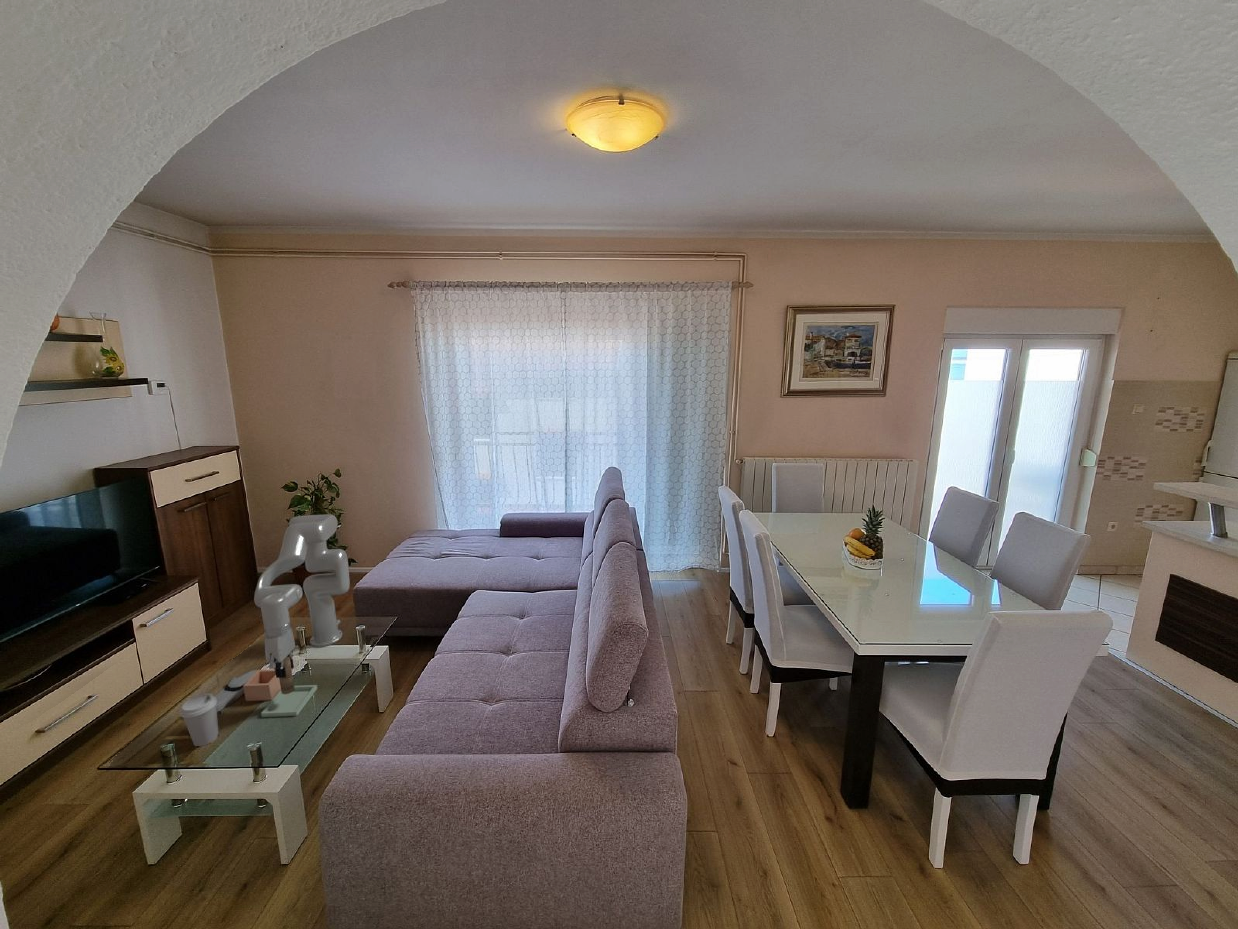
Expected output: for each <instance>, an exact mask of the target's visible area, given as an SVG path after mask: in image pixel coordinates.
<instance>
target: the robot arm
mask: <svg viewBox="0 0 1238 929" xmlns="http://www.w3.org/2000/svg"><path fill="white" fill-rule="evenodd" d="M338 522H339V521H338V519H337V517H336V516H335V515H334V514H310V515H309V514H308V515H299V516H294V517H292V518H290V520H289V525H288V526H287V528H286V530H285V533H284V535H283V539H282V544H281V548H280V551H279V556H278V558H277V559H276V560H275V561H273V562H272V563H271V564H270V565H269V566H268V567H267V568H266V569H265V570H264V571H263V572H262V573H261V575H260V577H259V578H258V581H257V584H256V587H255V591H254V596H253V598H254V599H253V600H254V603H255V605H256V607H258V608H260V610H261V611H260V612H261V616H262V621H263V622H262V623H263V627H264V628H263V629H264V634H265V638H264V654H265V662H266V663H267V664H269V666H268V670H270V669H275V673H276V677H277V678H285V677H286V670H285V667H283V660H284V659H285V658H286V657H290V663H291V669H292V670H293V669H294V668H295V666H294V660H293V659H294V658H293V657H294V654H293V652H294V649H295V646H296V641H295V636H294V633H293V629H292V625H291V619H290V612H289V609H290V608H291V607H294V606H295V605H296V604H297V603H298V602H299V601H300V600H301V599H302V597H303V594H305V597H306V599H307V604H308V609H309V616H310V617H309V618H310V625H311V630H312V636H311V637H310V639H309V644H310V645H311V646H312V647H314V648H315V647H316V648H322V647H327V646H331V645H334V644H335V643H337V642H338V641H340V640H341V639H342V638H343V631H342V630H341V629H339V628H338V627H339V624H340V623H341V620H340V619H337V615H336V607H335V606H336V605H335V601H334V598H333V597H332V596H337V595H343V594H345V593H347V592H348V591H349V589H350V585H351V584H350V582H351V581H350V573H349V560H348V555H347V552H346V551H345V550H344V549H341V548H331V549H329V548H328V545H327V541H328V540H329V539H330V538H331V537H332V536H333V535H334V534H335V532H336V531H337V530H338V524H339V523H338ZM304 563H305V564H304ZM302 564H304V565H305V569H306V571H307V572H309V573H316V574H311V575H309V576H308V577H306V578H305V580H304V581H303V584H302V585H303V586H302V587H301V585H299V584H296V583H294V584H293V583H291V584H290V583H289V584H279V585H278V584H276V585H272V583H273V582H274V580H276V578H278V577H279V576H281V575H282V574H284V573H287V572H288V571H290V570H293V569H295V568H297V567H299V566H301V565H302ZM324 572H325V573H324ZM327 572H331V573H327ZM317 573H318V574H317ZM303 591H304V593H303ZM277 663H280V665H278V664H277Z"/></svg>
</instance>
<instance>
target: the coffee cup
mask: <svg viewBox="0 0 1238 929" xmlns="http://www.w3.org/2000/svg"><path fill="white" fill-rule="evenodd" d="M217 702H218V700H217V698H216V697H215V695H213V694H212V693H209V692H207V693H206V692H205V693H201V694H197V695H194V696H193V697H190V698H188V699H186V701H185V702H184V703H183V704H182V705H181V707H180V710H179V716H180V717H182V718H183V720H184V723H185V726H186V728H187V730H188V733H189V735H190V738H191V741H192V743H193V746H195V747H197V746H201V747H204V746H208V745H210V744H212V743H214V741H216V740H217V738H218V737H219V734H220V733H219V722H218V713H217V709H216V704H217ZM209 743H210V744H209ZM207 744H208V745H207Z"/></svg>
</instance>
